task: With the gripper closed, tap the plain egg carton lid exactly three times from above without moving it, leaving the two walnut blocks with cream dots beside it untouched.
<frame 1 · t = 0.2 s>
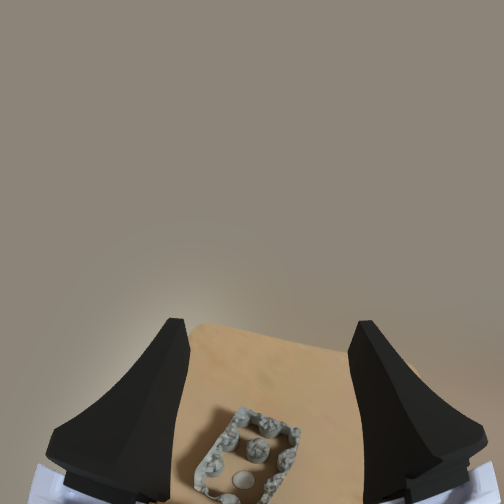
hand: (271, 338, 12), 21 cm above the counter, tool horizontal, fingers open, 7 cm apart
egg carton: (249, 467, 24), on the counter
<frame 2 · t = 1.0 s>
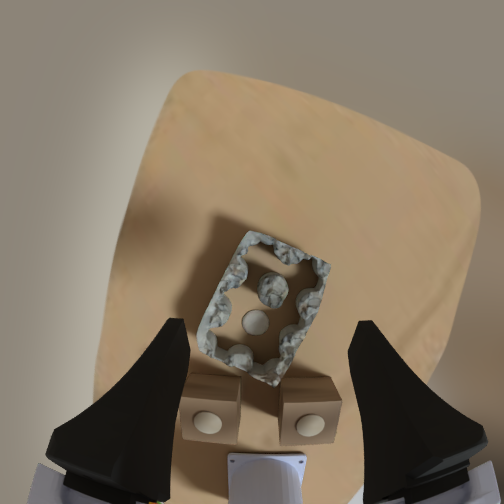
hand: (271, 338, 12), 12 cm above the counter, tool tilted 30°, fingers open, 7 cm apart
dotted block a: (303, 398, 24), on the counter
dotted block b: (216, 395, 24), on the counter
egg carton: (261, 302, 24), on the counter
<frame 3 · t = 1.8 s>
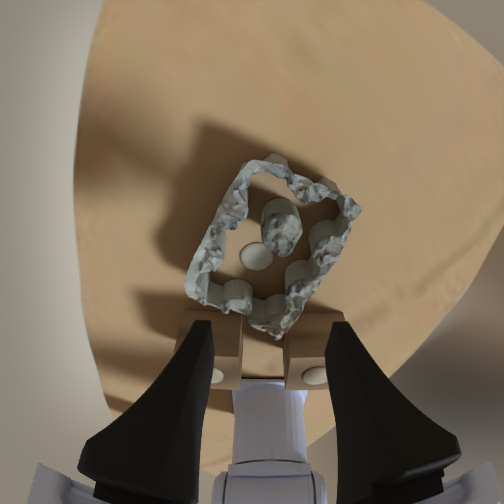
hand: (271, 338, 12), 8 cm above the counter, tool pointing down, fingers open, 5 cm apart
dotted block a: (311, 331, 24), on the counter
dotted block b: (215, 329, 24), on the counter
egg carton: (265, 232, 19), on the counter
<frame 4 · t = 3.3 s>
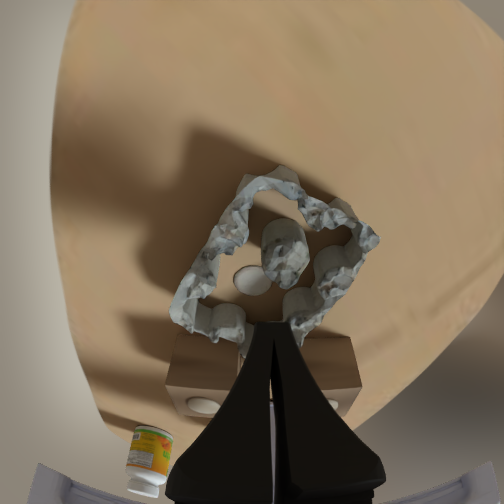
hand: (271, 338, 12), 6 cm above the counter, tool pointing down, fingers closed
dotted block a: (315, 355, 21), on the counter
dotted block b: (211, 354, 21), on the counter
egg carton: (264, 254, 17), on the counter
supplement bottle: (154, 431, 33), on the counter
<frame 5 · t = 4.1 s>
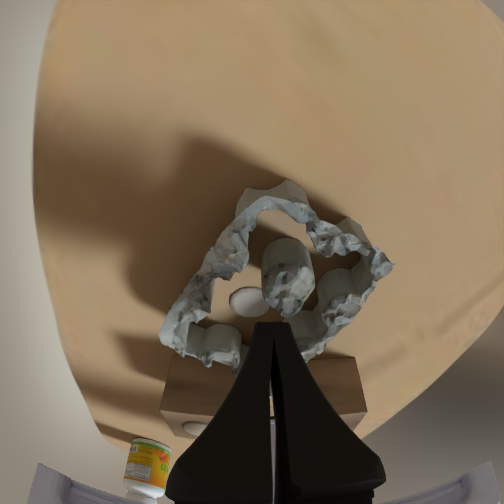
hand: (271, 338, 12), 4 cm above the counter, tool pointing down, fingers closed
dotted block a: (318, 375, 20), on the counter
dotted block b: (208, 374, 20), on the counter
egg carton: (264, 275, 15), on the counter
supplement bottle: (152, 443, 31), on the counter
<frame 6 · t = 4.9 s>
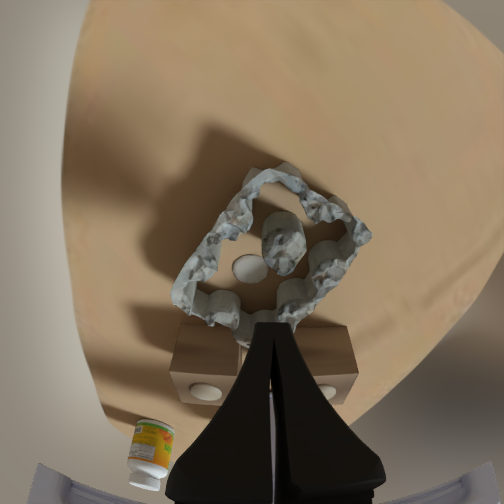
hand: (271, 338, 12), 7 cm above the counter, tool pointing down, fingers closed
dotted block a: (313, 345, 22), on the counter
dotted block b: (213, 343, 22), on the counter
egg carton: (263, 244, 18), on the counter
supplement bottle: (156, 425, 34), on the counter
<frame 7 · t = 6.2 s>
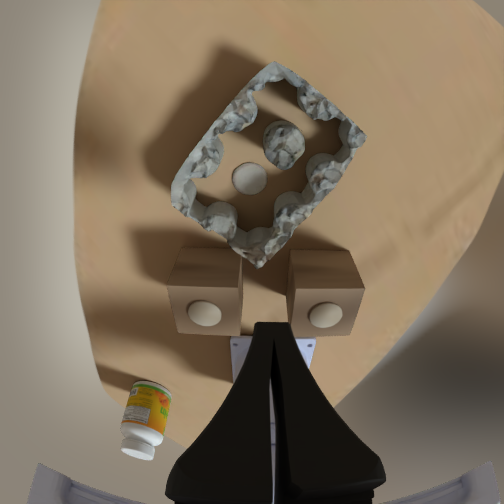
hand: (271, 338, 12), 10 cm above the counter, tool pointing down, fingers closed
dotted block a: (316, 273, 23), on the counter
dotted block b: (213, 271, 23), on the counter
egg carton: (263, 155, 18), on the counter
supplement bottle: (152, 389, 34), on the counter
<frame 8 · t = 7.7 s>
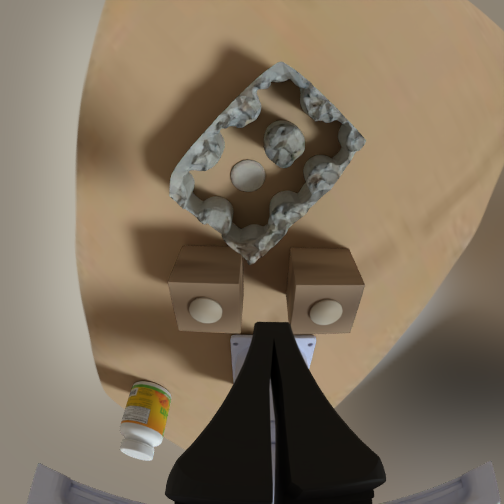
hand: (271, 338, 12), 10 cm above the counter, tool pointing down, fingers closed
dotted block a: (316, 272, 23), on the counter
dotted block b: (214, 270, 23), on the counter
egg carton: (262, 153, 18), on the counter
supplement bottle: (152, 389, 34), on the counter
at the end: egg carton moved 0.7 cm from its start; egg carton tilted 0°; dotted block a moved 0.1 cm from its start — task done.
